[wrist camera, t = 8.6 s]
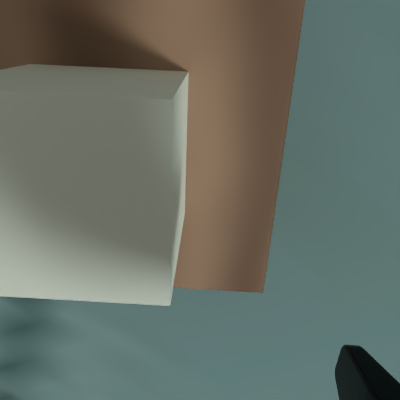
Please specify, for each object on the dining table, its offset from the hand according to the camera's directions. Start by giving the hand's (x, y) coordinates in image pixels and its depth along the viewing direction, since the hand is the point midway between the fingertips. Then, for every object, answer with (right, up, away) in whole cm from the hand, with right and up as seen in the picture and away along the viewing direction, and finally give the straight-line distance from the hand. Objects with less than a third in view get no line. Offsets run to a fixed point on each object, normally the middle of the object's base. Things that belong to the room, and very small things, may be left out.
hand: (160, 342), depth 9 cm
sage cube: (-3, +6, +6) cm, 9 cm away
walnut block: (-2, +7, +10) cm, 12 cm away
